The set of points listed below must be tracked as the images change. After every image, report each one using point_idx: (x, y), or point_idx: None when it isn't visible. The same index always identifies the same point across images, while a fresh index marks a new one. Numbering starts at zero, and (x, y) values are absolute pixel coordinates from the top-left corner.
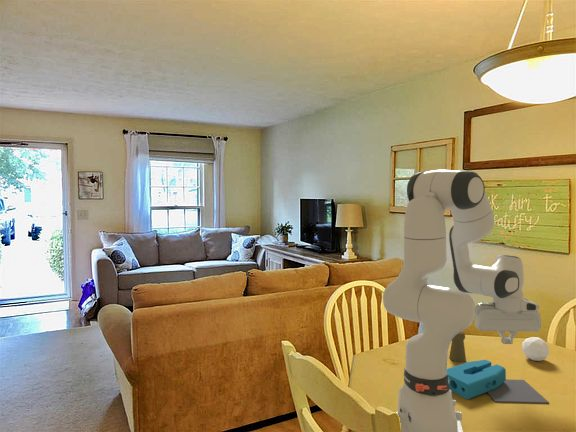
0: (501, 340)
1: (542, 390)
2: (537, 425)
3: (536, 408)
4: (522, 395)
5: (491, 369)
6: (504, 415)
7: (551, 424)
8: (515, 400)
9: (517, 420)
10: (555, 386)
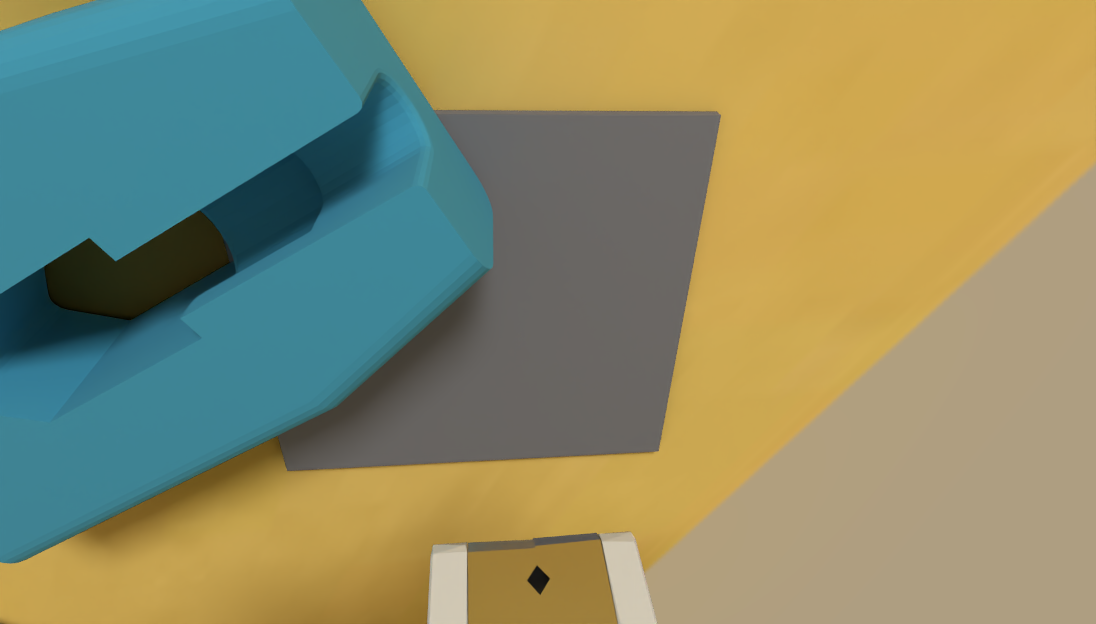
0: (430, 578)
1: (752, 282)
2: None
3: (537, 495)
4: (527, 390)
5: (300, 318)
6: (306, 569)
7: None
8: (439, 452)
9: (364, 595)
10: (922, 207)
